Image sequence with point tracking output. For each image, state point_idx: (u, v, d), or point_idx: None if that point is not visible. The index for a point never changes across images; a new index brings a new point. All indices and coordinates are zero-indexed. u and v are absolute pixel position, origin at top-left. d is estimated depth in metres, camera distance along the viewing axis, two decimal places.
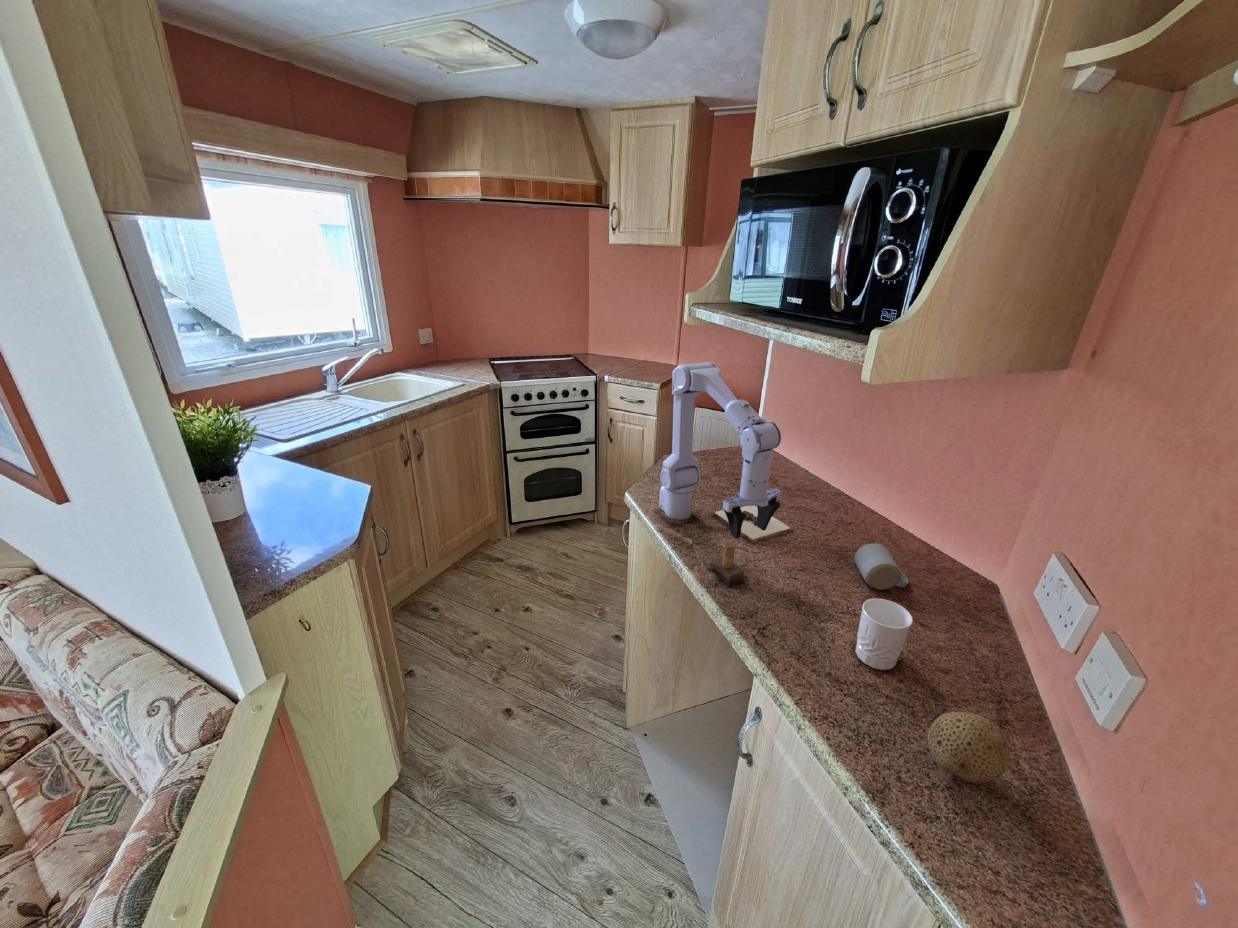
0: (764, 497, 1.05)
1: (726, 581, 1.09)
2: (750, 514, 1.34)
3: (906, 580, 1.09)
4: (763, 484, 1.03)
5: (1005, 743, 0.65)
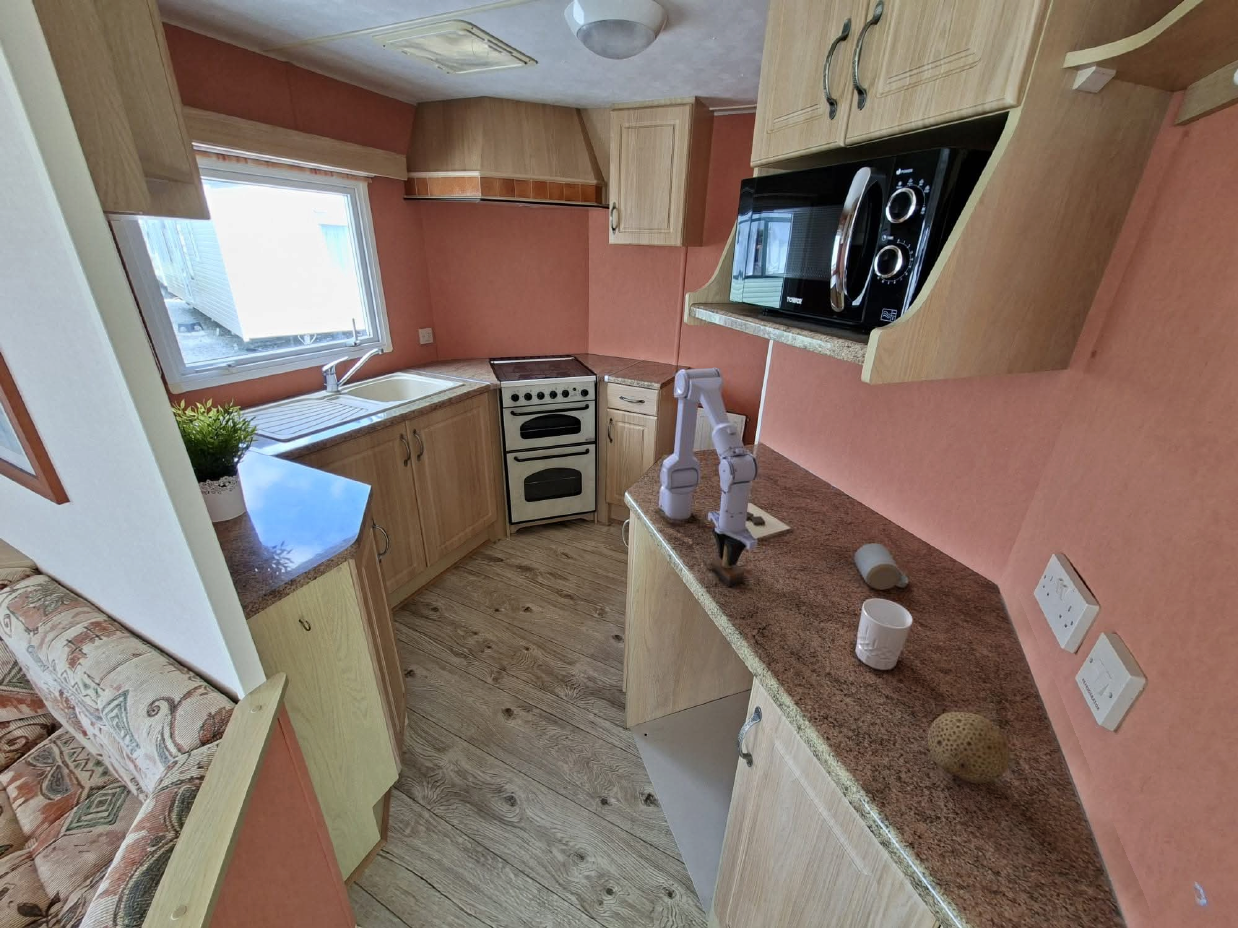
0: (724, 527, 1.05)
1: (726, 581, 1.09)
2: (750, 514, 1.34)
3: (906, 580, 1.09)
4: (722, 511, 1.05)
5: (1005, 743, 0.65)
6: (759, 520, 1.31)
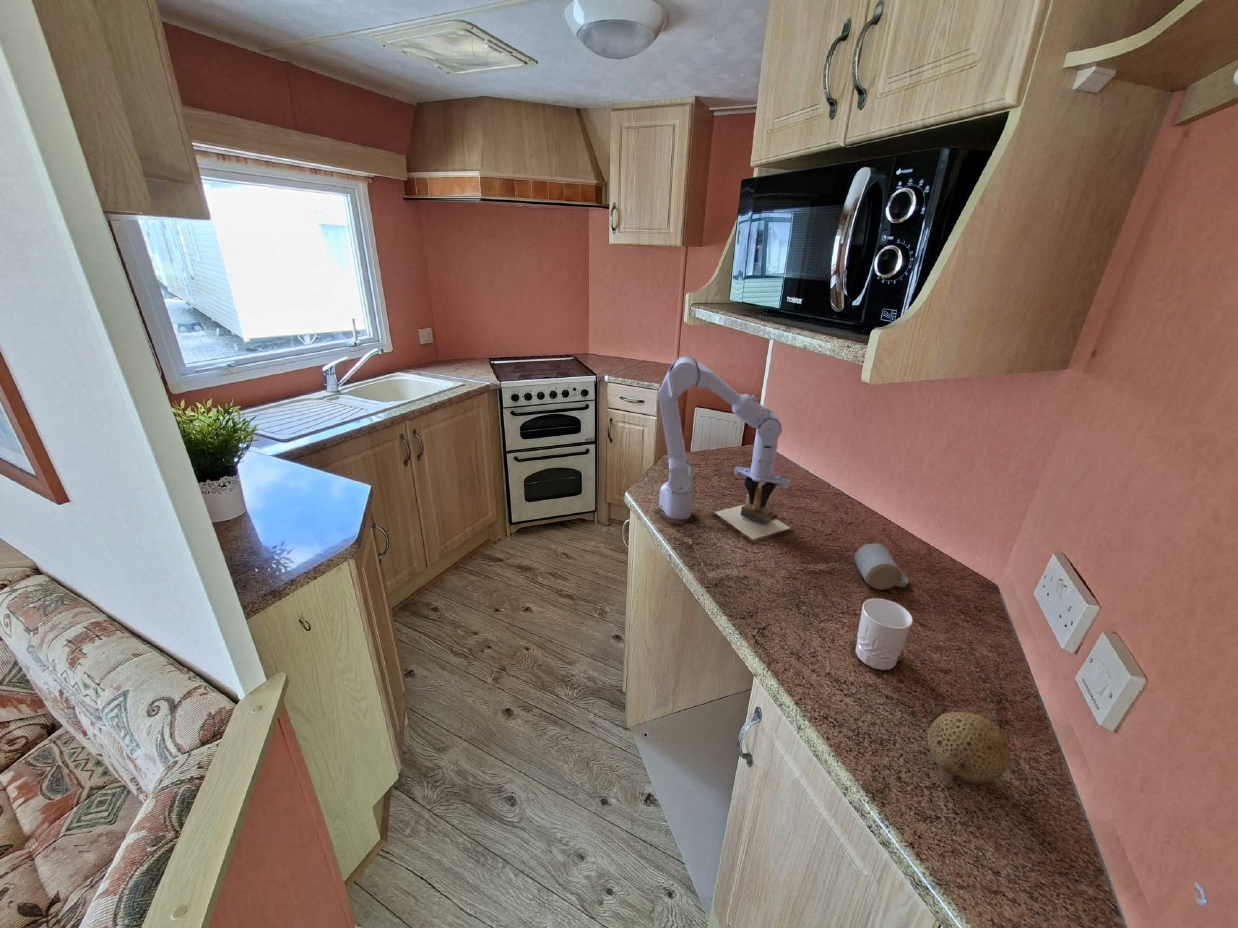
0: (760, 475, 1.27)
1: (760, 521, 1.31)
2: None
3: (906, 580, 1.09)
4: (758, 463, 1.26)
5: (1005, 743, 0.65)
6: (772, 515, 1.34)
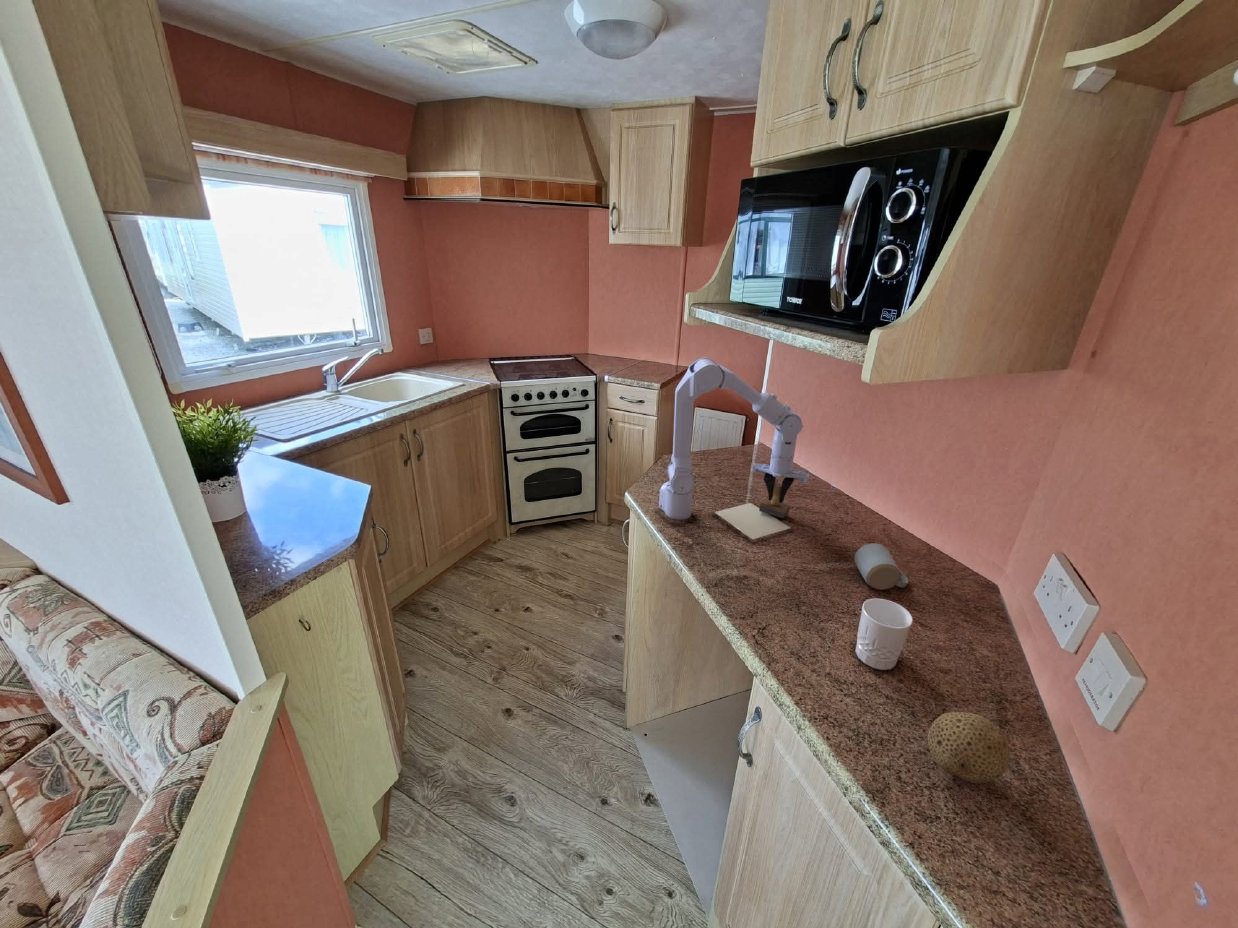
0: (781, 471, 1.29)
1: (780, 515, 1.33)
2: None
3: (906, 580, 1.09)
4: (779, 459, 1.28)
5: (1005, 743, 0.65)
6: None
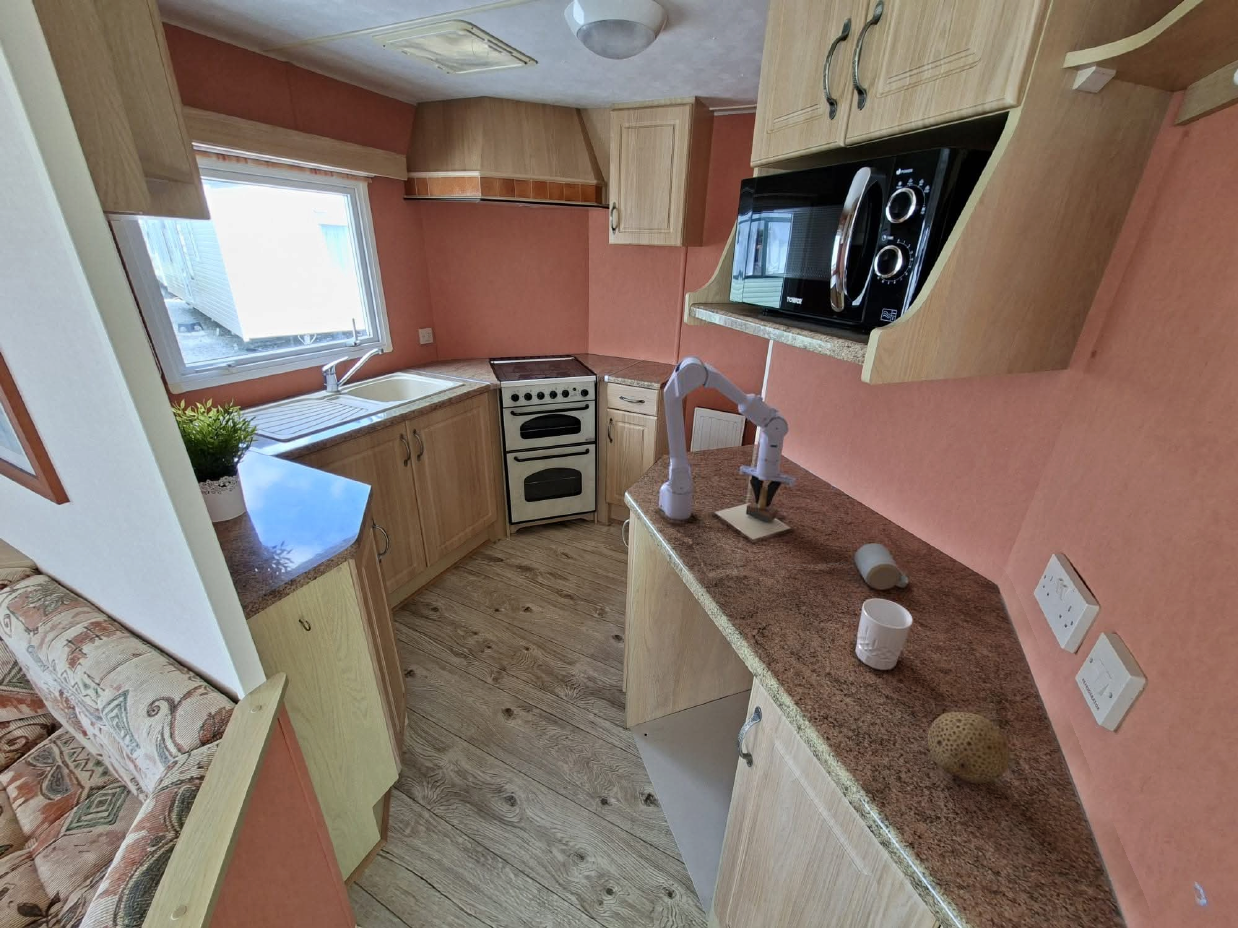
0: (766, 474, 1.27)
1: (766, 519, 1.31)
2: None
3: (906, 580, 1.09)
4: (764, 462, 1.26)
5: (1005, 743, 0.65)
6: None
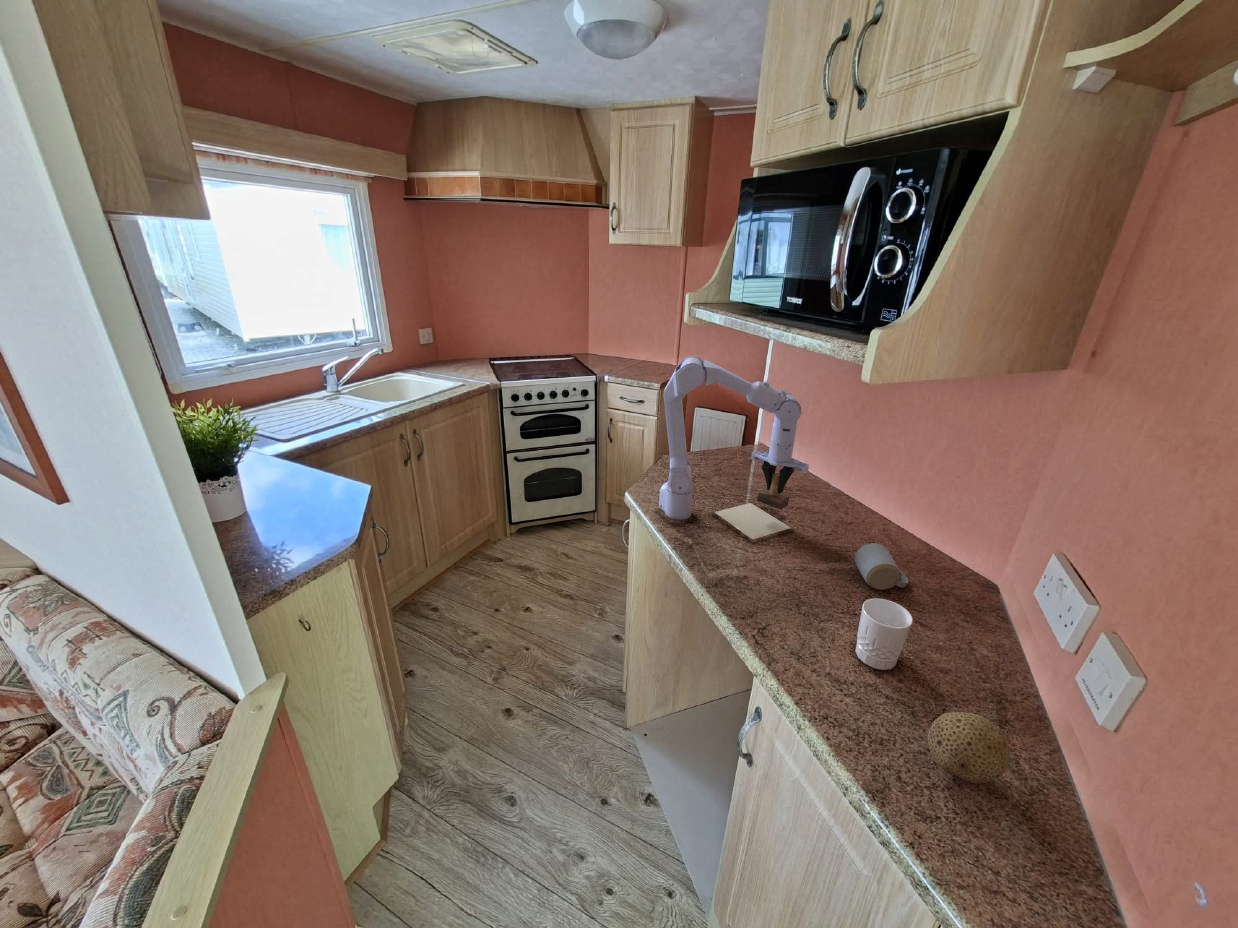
0: (778, 459, 1.24)
1: (777, 506, 1.28)
2: None
3: (906, 580, 1.09)
4: (776, 446, 1.23)
5: (1005, 743, 0.65)
6: None
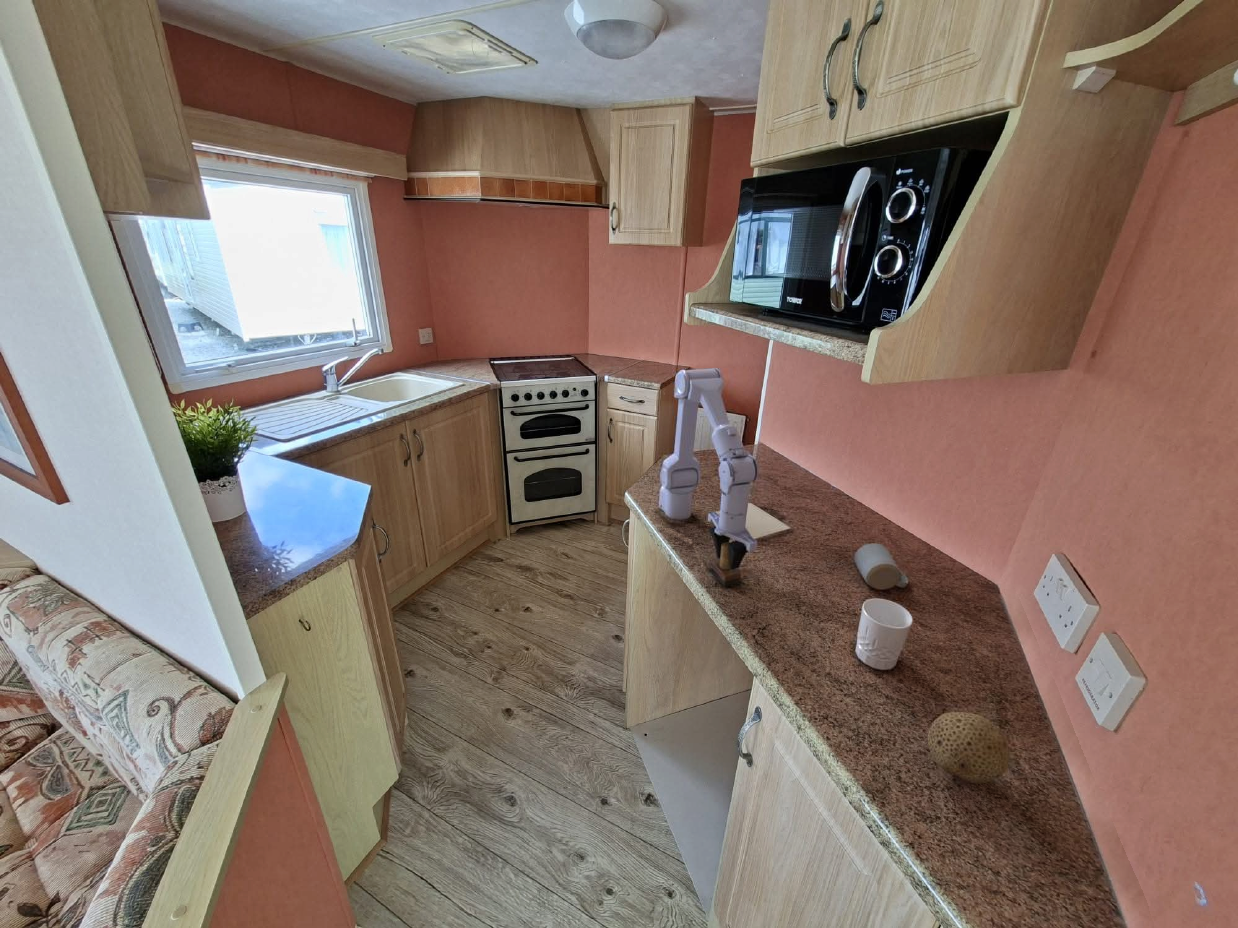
0: (724, 528, 1.05)
1: (722, 582, 1.09)
2: None
3: (906, 580, 1.09)
4: (722, 513, 1.05)
5: (1005, 743, 0.65)
6: None
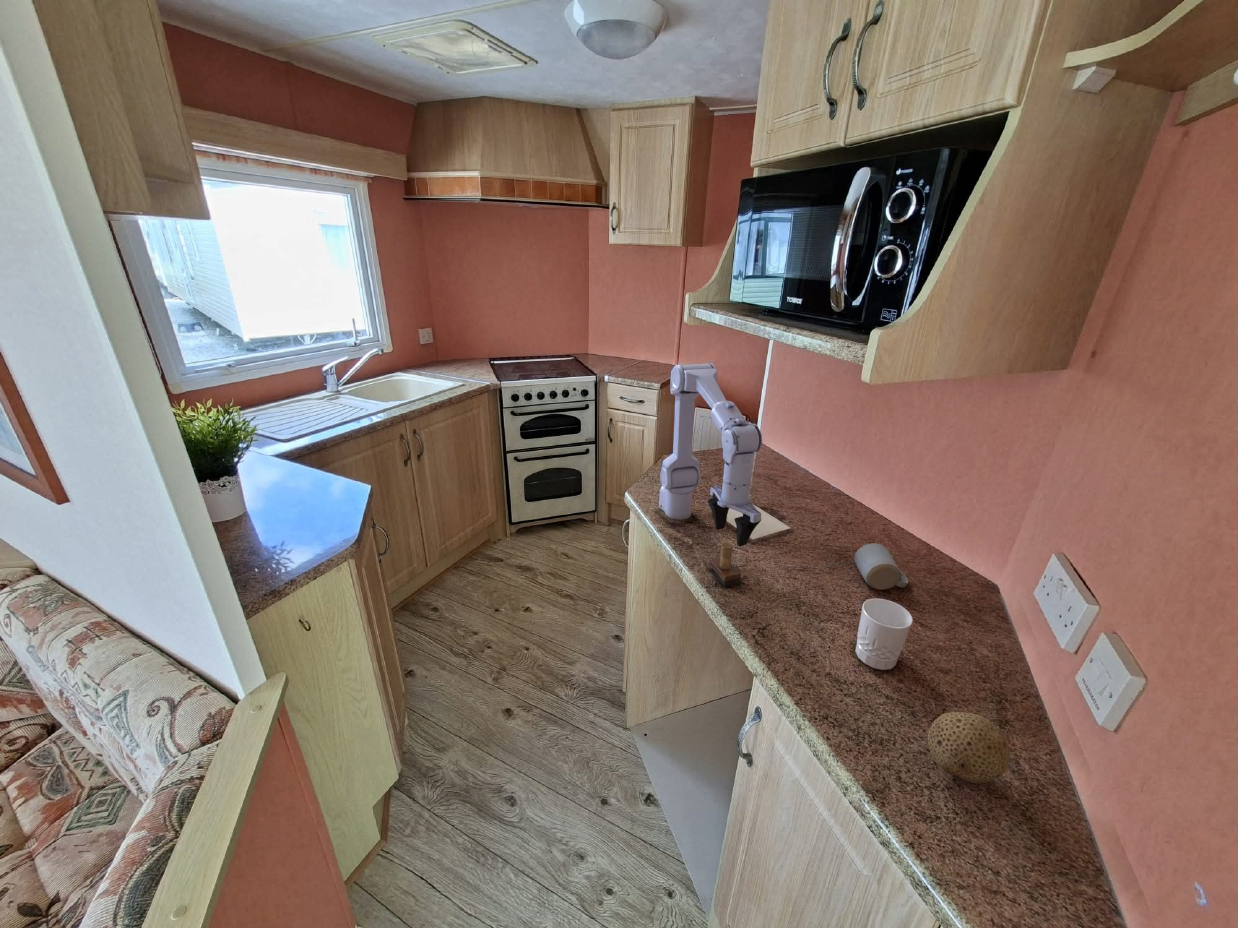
0: (727, 500, 1.03)
1: (722, 582, 1.09)
2: None
3: (906, 580, 1.09)
4: (725, 484, 1.02)
5: (1005, 743, 0.65)
6: None
